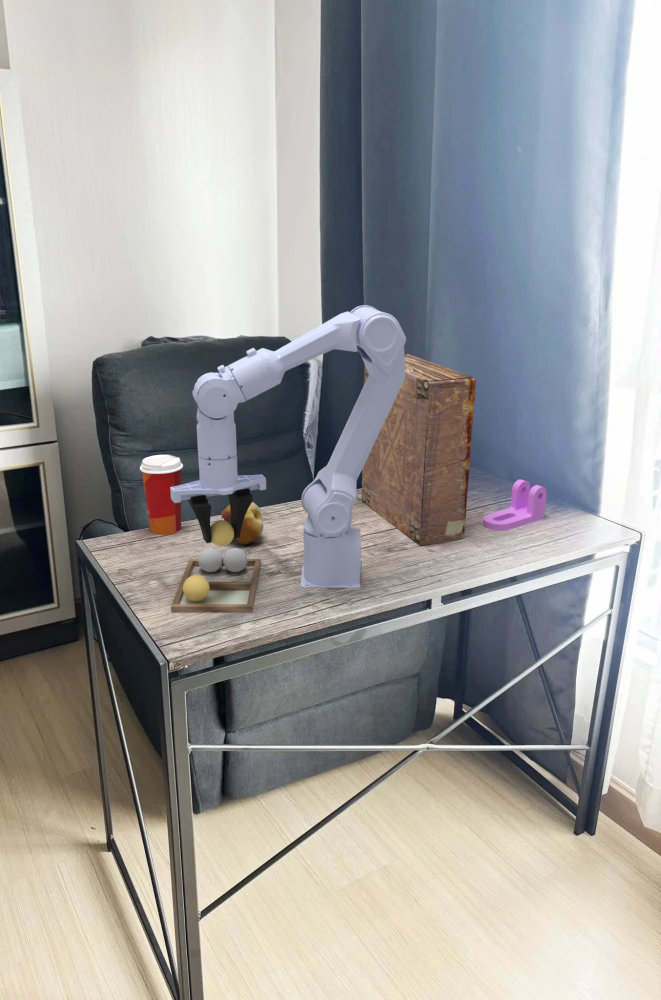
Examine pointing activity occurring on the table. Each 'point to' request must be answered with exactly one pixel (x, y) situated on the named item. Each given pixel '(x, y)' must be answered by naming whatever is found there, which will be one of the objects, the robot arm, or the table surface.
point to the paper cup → (162, 493)
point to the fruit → (247, 523)
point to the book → (423, 454)
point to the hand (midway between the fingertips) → (221, 538)
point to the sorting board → (219, 593)
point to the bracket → (519, 508)
